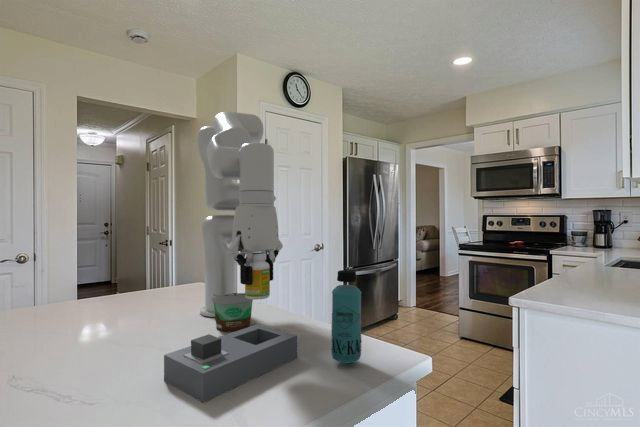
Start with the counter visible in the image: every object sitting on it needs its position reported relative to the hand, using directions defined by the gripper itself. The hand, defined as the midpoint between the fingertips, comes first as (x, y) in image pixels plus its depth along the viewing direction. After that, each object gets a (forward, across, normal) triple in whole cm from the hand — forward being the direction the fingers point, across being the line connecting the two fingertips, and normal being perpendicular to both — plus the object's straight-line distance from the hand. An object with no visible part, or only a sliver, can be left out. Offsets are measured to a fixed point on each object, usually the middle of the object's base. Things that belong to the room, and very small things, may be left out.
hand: (257, 281), depth 79 cm
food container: (+17, -10, -20) cm, 28 cm away
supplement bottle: (+4, 0, 0) cm, 4 cm away
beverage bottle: (+17, -10, +17) cm, 26 cm away
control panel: (+17, +6, 0) cm, 18 cm away
